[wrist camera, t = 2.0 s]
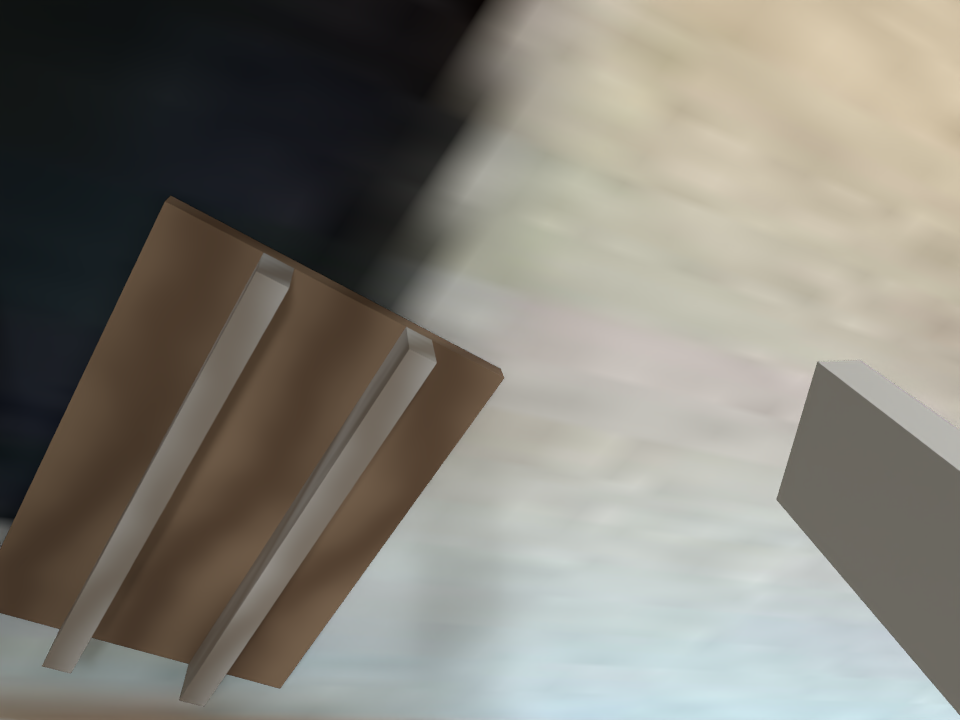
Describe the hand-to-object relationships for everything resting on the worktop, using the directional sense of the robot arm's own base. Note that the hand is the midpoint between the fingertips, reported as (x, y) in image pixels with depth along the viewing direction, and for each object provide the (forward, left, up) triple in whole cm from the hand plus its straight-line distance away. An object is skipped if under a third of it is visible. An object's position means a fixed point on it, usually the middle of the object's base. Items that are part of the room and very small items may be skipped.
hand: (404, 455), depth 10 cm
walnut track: (+2, -19, -23) cm, 30 cm away
